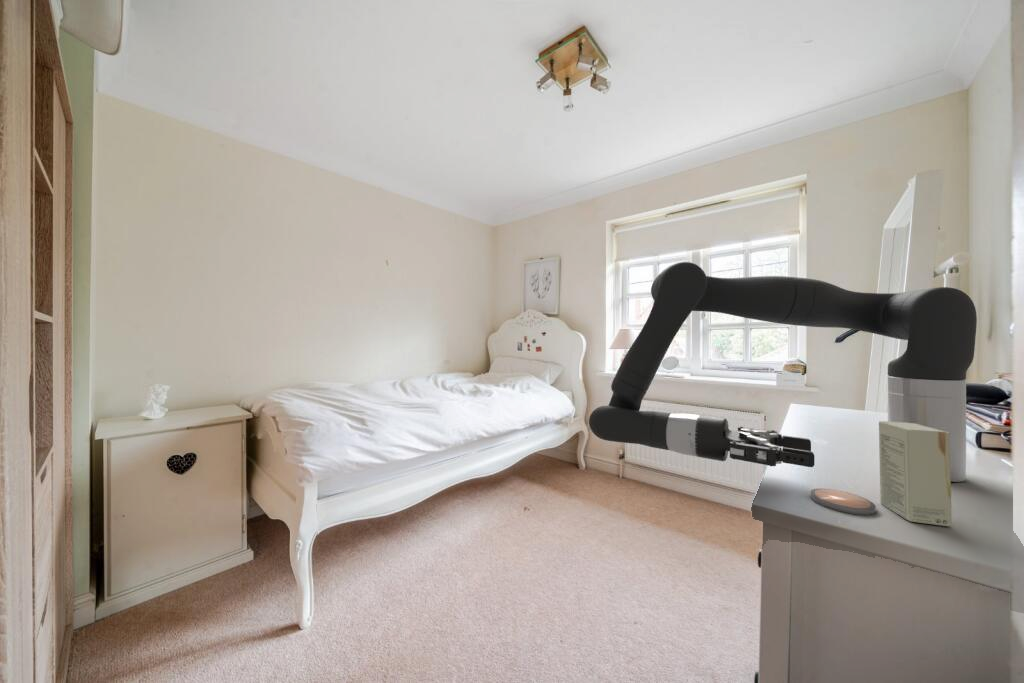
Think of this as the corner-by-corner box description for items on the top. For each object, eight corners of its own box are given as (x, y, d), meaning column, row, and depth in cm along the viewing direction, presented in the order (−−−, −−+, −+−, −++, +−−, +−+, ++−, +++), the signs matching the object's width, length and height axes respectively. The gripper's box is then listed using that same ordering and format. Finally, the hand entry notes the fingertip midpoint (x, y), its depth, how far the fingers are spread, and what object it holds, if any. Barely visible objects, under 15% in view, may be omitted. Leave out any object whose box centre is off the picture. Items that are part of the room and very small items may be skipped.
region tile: (805, 489, 57) (805, 484, 57) (864, 499, 53) (864, 494, 53) (816, 507, 50) (816, 501, 50) (884, 519, 47) (884, 513, 47)
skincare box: (954, 528, 45) (954, 432, 45) (908, 523, 46) (909, 429, 46) (916, 506, 51) (916, 421, 51) (877, 502, 52) (877, 419, 52)
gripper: (688, 422, 59) (816, 438, 49) (703, 409, 70) (809, 420, 61) (688, 466, 59) (816, 491, 49) (703, 446, 70) (809, 463, 61)
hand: (812, 452), depth 55 cm, fingers open, 8 cm apart
